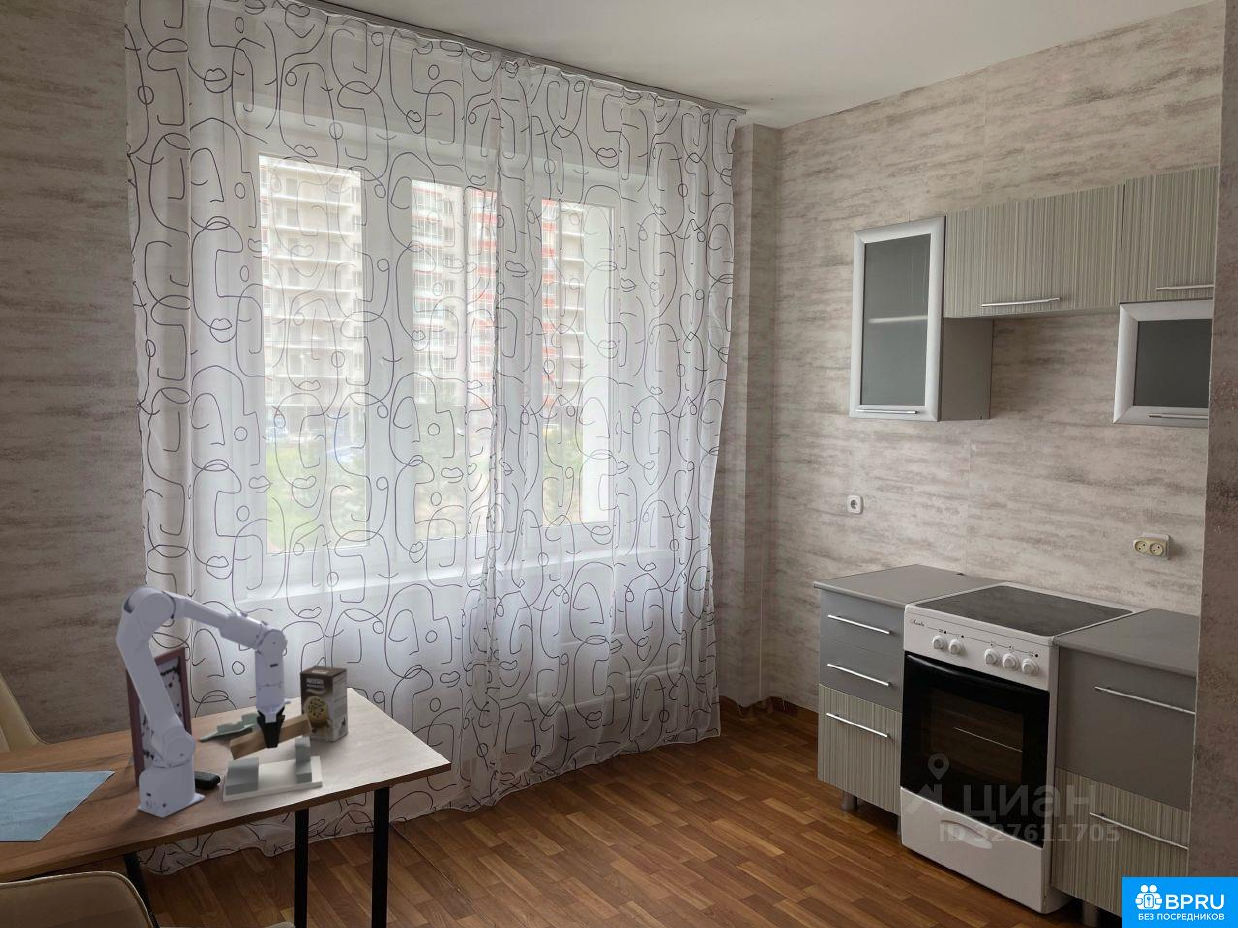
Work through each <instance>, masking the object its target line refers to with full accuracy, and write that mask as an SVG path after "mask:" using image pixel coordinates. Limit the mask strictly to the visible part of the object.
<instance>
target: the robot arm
mask: <svg viewBox="0 0 1238 928" xmlns="http://www.w3.org/2000/svg"><path fill="white" fill-rule="evenodd" d="M160 591H161V592H160ZM160 591H159V590H158V589H157V588H156V587H154V586H150V585H141V586H139V587H136V588H135V589H133V590H132V591H131V592H130V593H129V594H128V596H127V597H126V599H125V600H124V601H123V603H122V604H121V616H120V618H119V619H120V620H119V623H118V624H119V625H118V629H117V632H116V637H115V641H116V645H117V648H118V650H119V652H120V655H121V658H122V661H123V662H124V665H125V668H126V669H127V670H128V672H129V675H130V677H131V679H132V682H133V684H134V687H135V689H136V692H137V694H138V696H139V699H140V701H141V704H142V706H143V708H144V711H145V713H146V716H147V718H148V726H149V728H150V738H149V742H150V745H151V747H152V748H153V749H154V750H156V754H155V756H154V759H153V764H152V765H151V766H150V767H149V768H148V769H147V770H145V771H143V772H142V773H141V774H140V777H139V785H138V789H139V805H138V807H137V809H138V810H140V811H142V812H145V813H148V814H150V815H153V816H156V817H158V818H166V817H168V816H169V815H172V814H174V813H176V812H178V811H180V810H182V809H185V808H187V807H190V806H192V805H194V804H196V803H198V802H201V801H202V800H204V799H206V796H205V795H203V794H201V793H197V792H196V785H195V768H194V767H195V764H194V753H195V751H196V748H197V746H196V744H197V743H196V739H195V738H194V736H193V735H192V736H191V735H190V734H188V733H187V732H186V731H185V729H184V727H183V725H182V723H181V721H180V720H179V718H178V716H177V715H176V713H175V710H174V708H173V705H172V703H171V700H170V698H169V695H168V693H167V691H166V688H165V686H164V683H163V681H162V678H161V676H160V673H159V671H158V668H157V666H156V663H155V661H154V656H153V655H152V650H151V648H150V646H149V641H150V640H151V638H152V636H153V635H154V633H155V632H156V631H158V630H159V629H160V628H161V627H162V626H163V625H164V624H165V623H167V622H168V621H169V620H170V619H171V620H172V621H176V620H179V619H182V618H187V619H190V620H193V621H196V622H199V623H202V624H204V625H207V626H210V627H213V628H216V629H218V632H219V635H220V636H221V638H223V639H225V640H228V641H231V642H232V643H235V644H238V645H241V646H243V647H245V648H249V649H252V650H254V675H255V699H256V700H255V703H254V704H255V709H256V710H257V711H256V713H259V715H260V716H258V717H257V723H258V725H259V726H260V728H261V730H262V732H263V735H264V739H265V744H266V747H267V748H266V749H267V750H269V749H276V748H278V747H279V746H278V745H279V744H280V743H279V736H280V730H281V726H282V724H283V722H284V721H286V720H285V719H286V714H284V711H285V709H286V705H290V704H291V703H292V702H291V701H292V699H291V698H287V697H286V695H285V694H286V693H285V689H286V688H285V669H284V668H285V667H284V665H285V664H284V663H285V662H284V651H285V650H286V648H287V645H288V640H287V639H286V636H285V634H284V632H283V631H282V630H280V629H278V628H276V627H274V626H272V625H270V624H269V623H268V622H267V621H266V620H264V619H263V620H261V621H259V620H257V619H254V618H252V617H249V613H247V612H246V611H243V610H240V612H238V611H232V612H229V613H226V614H225V613H222V612H220V611H218V610H216V609H214V608H211V607H209V606H207V605H204V604H202V603H201V602H198V601H196V600H194V599H191V598H189V597H187V596H185V595H182V594H178V593H174V592H171V591H168V590H165V589H160ZM278 743H279V744H278Z"/></svg>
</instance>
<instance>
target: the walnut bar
mask: <svg viewBox="0 0 1238 928" xmlns="http://www.w3.org/2000/svg"><path fill="white" fill-rule="evenodd" d="M309 732H311V724H310V721H309V718H308V715H307V713H305V714H302V715H301V714H299V715H297V716H294V717H291V718H289V719H286V720H284V722H283V724H282V726H281V730H280V736H279V743H278V745H280V744H282V743H284V742H287V741H290V740H292V739H295V738H299V737H302V735H304V734H306V733H309ZM229 749H230V753H231V755H232V758H233V760H240V758H241V759H242V758H244V757H247V756H249V755H253V754H255V753H257V752H260V751H262V750H265V749H267V747H266V744H265V739H264V735H263V732H262V730H258V731H255V732H253V731H252V732H250V733H246V734H244V735H240V736H239V737H236V738H233V739H231V740H230V742H229Z"/></svg>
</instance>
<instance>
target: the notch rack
mask: <svg viewBox="0 0 1238 928" xmlns="http://www.w3.org/2000/svg"><path fill="white" fill-rule="evenodd" d="M310 740H311V739H309V736H308V737H302V736H300V737H296V738H294V750H295V751H294V752H295V754H294V755H295V759H294V758H293V759H289V760H288V759H287V760H281V761H276V762H275V761H274V762H269V763H262V764H260V759H259V758H260V757H259V756H256V757H255V756H253V757H247V758H241V759H240V758H239V759H236V760H234V759H233V760H229V761H228V765H227V769H226V772H225V780H224V787H223V793H222V794H223V795H222V802H223V803H225V802H226V803H227V802H230V801H231V802H232V801H239V800H244V799H249V798H250V799H251V798H255V797H256V798H257V797H262V796H268V795H274V794H280V793H286V792H294V791H299V790H306V789H312V788H318V787H323V776H322V767H321V766H322V765H321V758H320V755H314V756H311V741H310Z"/></svg>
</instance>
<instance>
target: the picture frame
mask: <svg viewBox="0 0 1238 928" xmlns="http://www.w3.org/2000/svg"><path fill="white" fill-rule="evenodd" d="M153 658H154V661H155V663H156V666H157V668H158V671H159V673H160V676H161V678H162V681H163V683H164V686H165V688H166V691H167V693H168V695H169V698H170V700H171V703H172V705H173V708H174V710H175V713H176V715H177V716H178V718H179V720H180V721H181V723H182V725H183V727H184V729H185V731H186V732H187V733H188V734H190V735H191V736H192V737H193V732H192V719H191V708H190V707H191V706H190V695H189V694H190V693H189V685H188V673H187V672H188V670H187V660H186V648H185V646H178V647H176V648H173V649H171V650H168V651H166V652H163V653H162V654H158V655H157V656H153ZM125 678H126V687H127V689H126V692H127V700H128V701H127V702H128V711H129V723H130V733H131V734H130V735H131V745H132V746H131V747H132V754H131V756H130V758H129V760H128V763H127V766H128V765H130V764H132V763H133V767H134V778H135V786H139V777H140V774H141V773H142V772H143V771H145V770H147V769H148V768H149V767H150V766H151V765H152V764H153V759H154V756H155V754H156V750H154V749H153V748H152V747H151V745H150V742H149V738H150V728H149V726H148V718H147V716H146V713H145V711H144V708H143V706H142V704H141V701H140V699H139V696H138V694H137V692H136V689H135V687H134V684H133V682H132V679H131V677H130V675H129V672H128V670H127V668H126V669H125Z"/></svg>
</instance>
